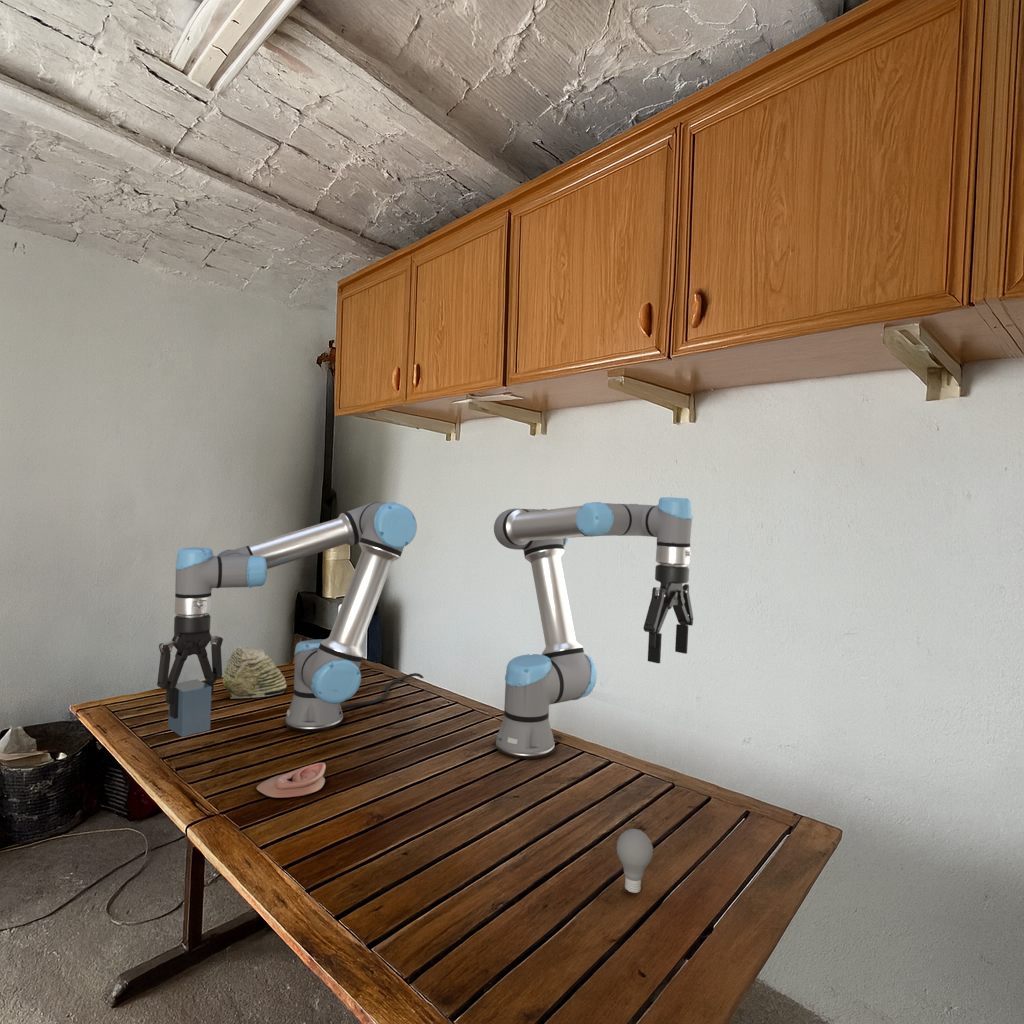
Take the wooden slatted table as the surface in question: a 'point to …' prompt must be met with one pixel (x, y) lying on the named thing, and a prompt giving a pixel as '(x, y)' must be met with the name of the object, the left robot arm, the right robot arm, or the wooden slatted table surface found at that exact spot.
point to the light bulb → (634, 857)
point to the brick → (192, 708)
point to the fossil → (252, 674)
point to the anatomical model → (295, 782)
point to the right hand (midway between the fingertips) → (667, 657)
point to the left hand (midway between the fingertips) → (189, 713)
